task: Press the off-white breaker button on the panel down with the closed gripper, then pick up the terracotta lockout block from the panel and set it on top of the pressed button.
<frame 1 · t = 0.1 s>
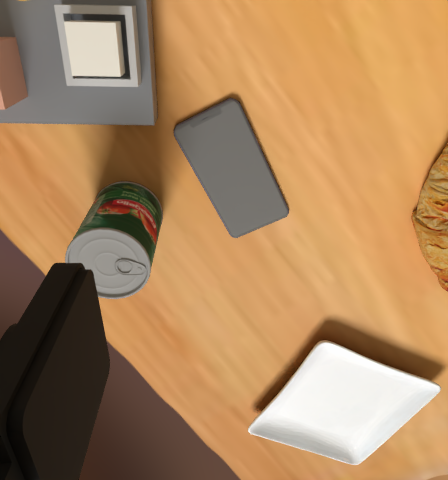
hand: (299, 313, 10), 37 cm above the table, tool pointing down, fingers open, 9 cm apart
smartphone: (234, 171, 47), on the table
breaker button: (96, 48, 35), point 6 cm above the table, slide at 0.0 cm
salad plate: (336, 392, 66), on the table
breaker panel: (46, 40, 40), on the table
canned tomato: (129, 211, 49), on the table
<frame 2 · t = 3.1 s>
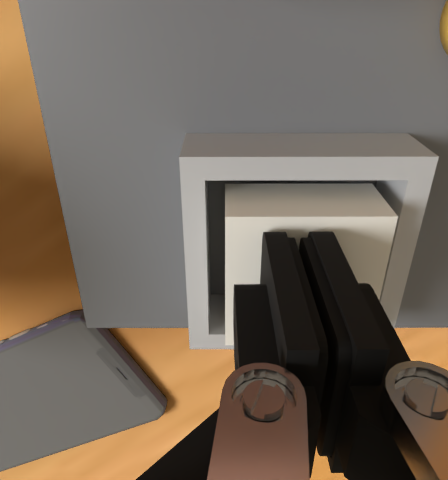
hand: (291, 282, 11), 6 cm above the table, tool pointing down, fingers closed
smartphone: (16, 397, 23), on the table
breaker button: (297, 265, 12), point 5 cm above the table, slide at 0.6 cm, touching gripper
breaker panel: (289, 11, 13), on the table
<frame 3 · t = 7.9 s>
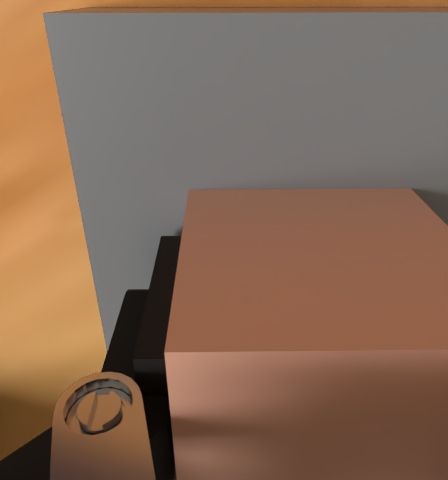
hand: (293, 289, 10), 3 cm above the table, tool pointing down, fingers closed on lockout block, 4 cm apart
lockout block: (291, 279, 11), point 3 cm above the table, touching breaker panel, gripper
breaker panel: (325, 321, 15), on the table
when the fingers open (7 cm above the table, at t = 12.6 s): lockout block drops 1 cm, resting on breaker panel.
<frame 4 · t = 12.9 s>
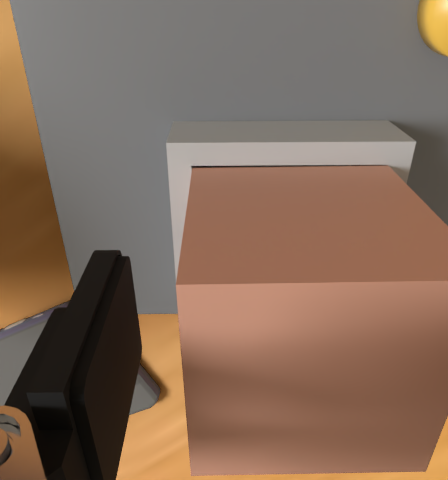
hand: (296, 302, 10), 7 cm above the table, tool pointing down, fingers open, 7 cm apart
smartphone: (11, 387, 23), on the table
breaker button: (278, 231, 13), point 4 cm above the table, slide at 1.6 cm, touching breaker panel
lockout block: (284, 250, 12), point 5 cm above the table, touching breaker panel
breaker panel: (274, 3, 13), on the table
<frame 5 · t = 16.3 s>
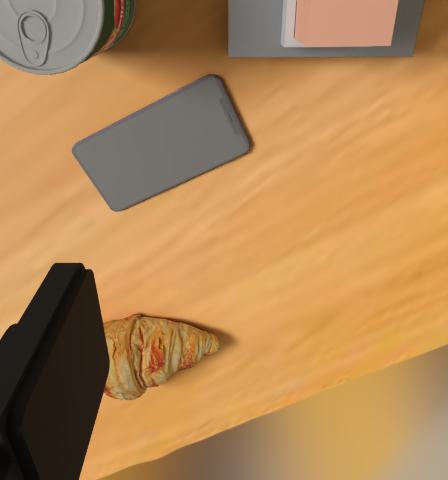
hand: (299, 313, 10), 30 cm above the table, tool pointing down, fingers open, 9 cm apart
smartphone: (162, 145, 39), on the table
croissant: (133, 342, 51), on the table
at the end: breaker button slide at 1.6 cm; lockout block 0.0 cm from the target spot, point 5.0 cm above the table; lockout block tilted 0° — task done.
